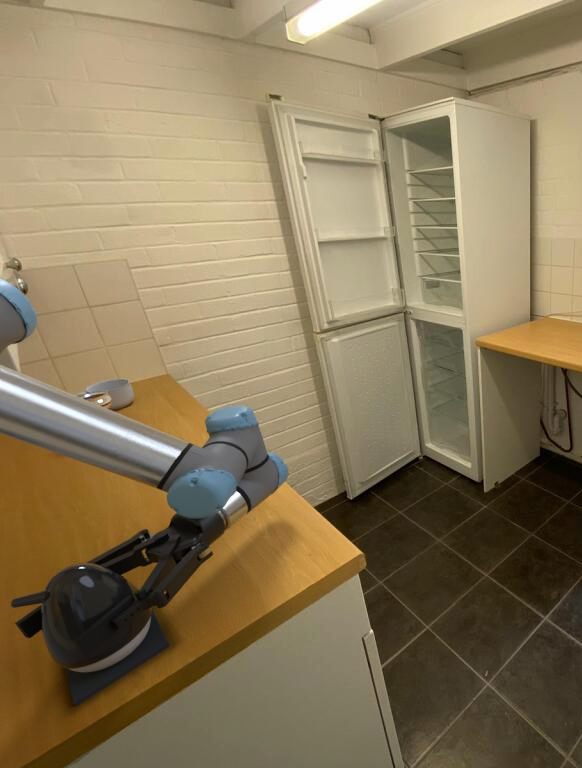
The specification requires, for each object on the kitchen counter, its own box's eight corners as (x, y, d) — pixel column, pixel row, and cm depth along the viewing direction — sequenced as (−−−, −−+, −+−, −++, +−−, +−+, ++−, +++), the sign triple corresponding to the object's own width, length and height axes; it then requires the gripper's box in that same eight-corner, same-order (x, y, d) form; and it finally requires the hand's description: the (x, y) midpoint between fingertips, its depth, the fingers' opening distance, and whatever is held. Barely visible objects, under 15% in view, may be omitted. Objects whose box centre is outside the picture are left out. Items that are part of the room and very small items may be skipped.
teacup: (137, 396, 144) (128, 375, 141) (139, 406, 137) (129, 384, 134) (83, 410, 136) (71, 387, 133) (82, 421, 128) (69, 397, 125)
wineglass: (127, 424, 125) (110, 388, 120) (123, 434, 120) (105, 396, 115) (98, 431, 122) (79, 394, 117) (92, 441, 117) (72, 403, 112)
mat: (76, 708, 53) (72, 703, 53) (65, 659, 59) (62, 655, 59) (170, 647, 60) (167, 643, 60) (152, 609, 66) (150, 605, 66)
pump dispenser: (64, 651, 59) (8, 573, 53) (155, 603, 66) (114, 529, 60) (66, 705, 53) (1, 624, 47) (167, 646, 59) (122, 568, 53)
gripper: (268, 544, 71) (128, 679, 51) (167, 524, 76) (6, 640, 56) (255, 509, 68) (101, 638, 48) (151, 491, 73) (-25, 601, 53)
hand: (50, 639), depth 52 cm, fingers closed on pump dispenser, 10 cm apart
